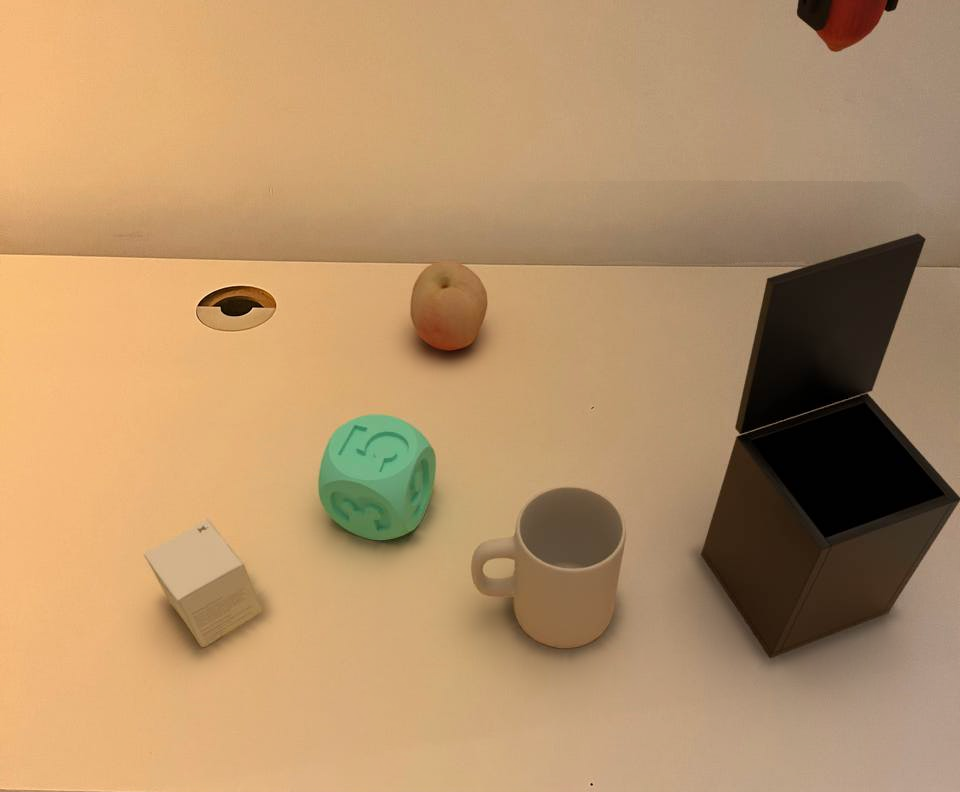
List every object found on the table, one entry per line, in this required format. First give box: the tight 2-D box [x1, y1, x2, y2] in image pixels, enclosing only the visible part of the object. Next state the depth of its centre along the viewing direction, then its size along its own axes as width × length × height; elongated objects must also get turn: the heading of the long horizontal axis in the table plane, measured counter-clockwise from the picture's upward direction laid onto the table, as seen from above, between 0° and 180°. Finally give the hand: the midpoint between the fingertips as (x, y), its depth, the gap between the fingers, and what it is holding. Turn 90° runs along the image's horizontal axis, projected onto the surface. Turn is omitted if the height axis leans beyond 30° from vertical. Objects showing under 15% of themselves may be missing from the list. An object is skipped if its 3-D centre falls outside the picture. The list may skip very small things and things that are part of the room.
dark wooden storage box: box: [700, 392, 960, 659], centre depth 75 cm, size 12×12×15 cm
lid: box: [734, 233, 926, 435], centre depth 66 cm, size 12×12×1 cm
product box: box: [143, 518, 263, 648], centre depth 78 cm, size 6×6×7 cm
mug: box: [470, 485, 627, 649], centre depth 76 cm, size 12×8×11 cm
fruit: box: [409, 259, 489, 351], centre depth 95 cm, size 8×8×8 cm
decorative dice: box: [317, 413, 437, 541], centre depth 83 cm, size 8×8×8 cm
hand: (845, 11), depth 76 cm, fingers closed on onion, 5 cm apart
